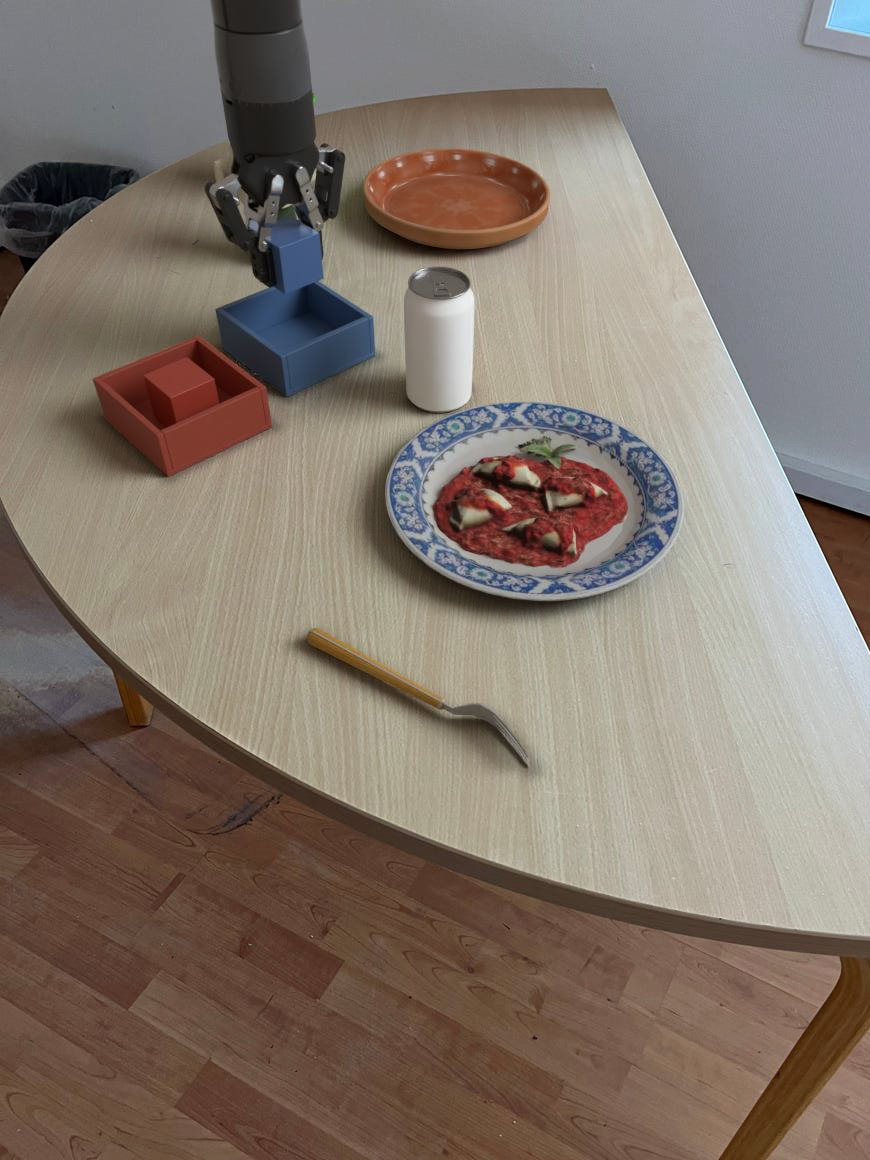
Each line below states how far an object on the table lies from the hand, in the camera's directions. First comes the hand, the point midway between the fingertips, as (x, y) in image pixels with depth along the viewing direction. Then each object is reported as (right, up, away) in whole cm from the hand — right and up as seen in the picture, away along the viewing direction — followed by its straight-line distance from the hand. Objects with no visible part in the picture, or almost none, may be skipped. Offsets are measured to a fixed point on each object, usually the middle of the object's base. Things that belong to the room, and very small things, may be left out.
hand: (289, 273), depth 92 cm
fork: (+14, -40, -22) cm, 48 cm away
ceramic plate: (+23, -24, -8) cm, 34 cm away
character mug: (-5, +9, +19) cm, 22 cm away
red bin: (-9, -15, -2) cm, 18 cm away
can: (+14, -11, +3) cm, 18 cm away
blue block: (0, 0, 0) cm, 0 cm away
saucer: (+15, +18, +27) cm, 36 cm away
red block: (-9, -15, -2) cm, 17 cm away
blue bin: (0, -6, +6) cm, 9 cm away
